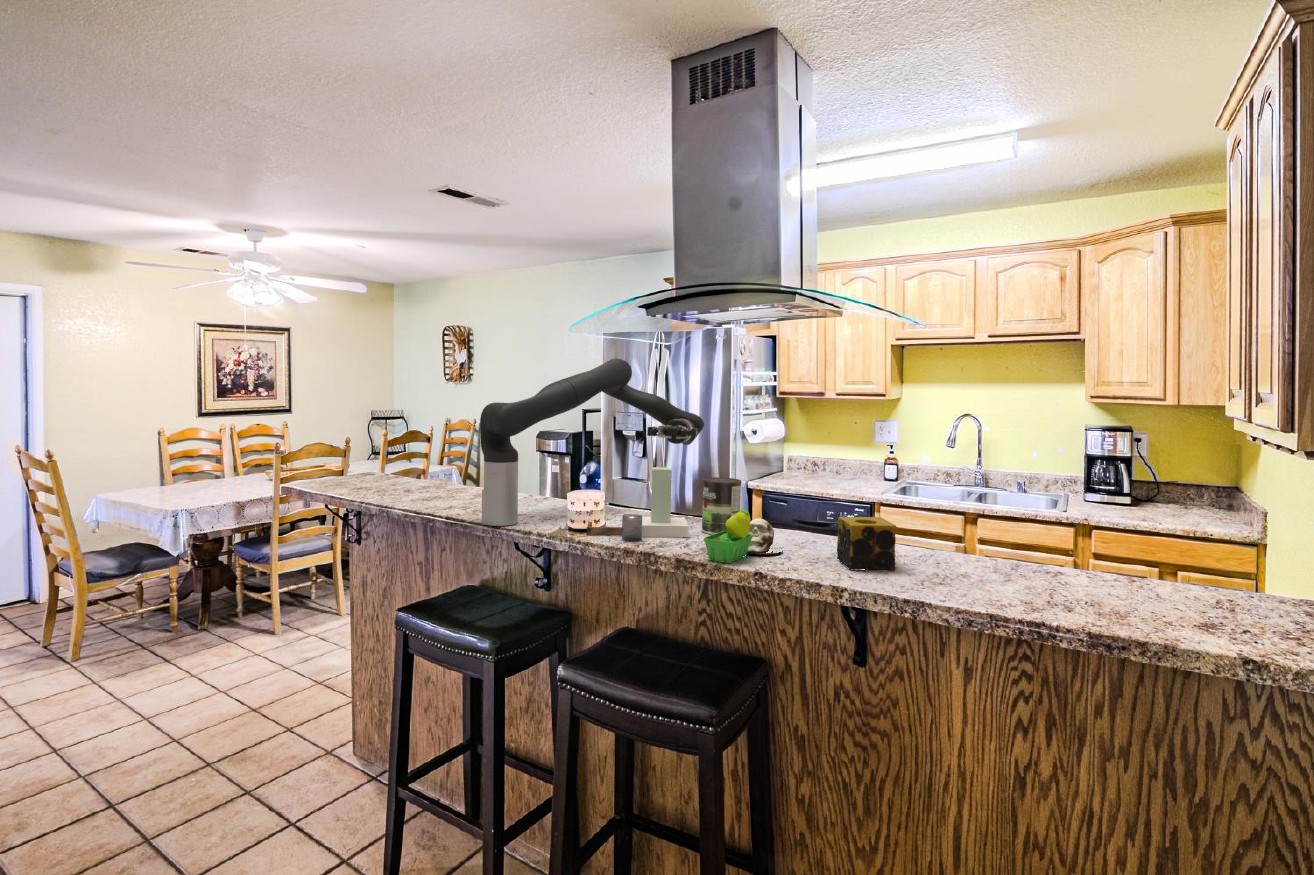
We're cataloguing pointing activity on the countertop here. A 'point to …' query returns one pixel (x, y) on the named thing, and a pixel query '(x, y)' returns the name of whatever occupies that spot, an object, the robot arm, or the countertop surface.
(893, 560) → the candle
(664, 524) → the white platform
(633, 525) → the grey cylinder
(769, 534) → the skull
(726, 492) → the coffee can
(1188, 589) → the countertop surface
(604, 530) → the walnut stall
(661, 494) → the sage block
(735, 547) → the fruit basket
